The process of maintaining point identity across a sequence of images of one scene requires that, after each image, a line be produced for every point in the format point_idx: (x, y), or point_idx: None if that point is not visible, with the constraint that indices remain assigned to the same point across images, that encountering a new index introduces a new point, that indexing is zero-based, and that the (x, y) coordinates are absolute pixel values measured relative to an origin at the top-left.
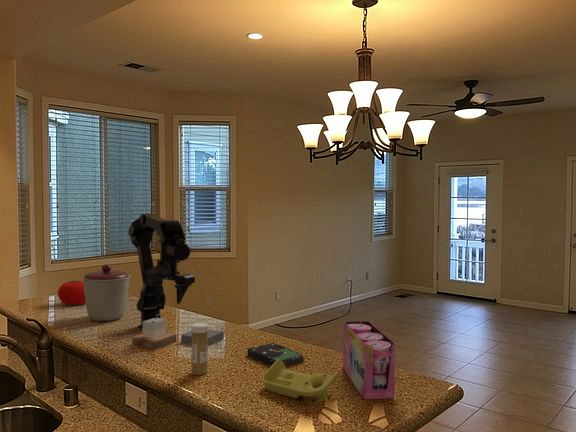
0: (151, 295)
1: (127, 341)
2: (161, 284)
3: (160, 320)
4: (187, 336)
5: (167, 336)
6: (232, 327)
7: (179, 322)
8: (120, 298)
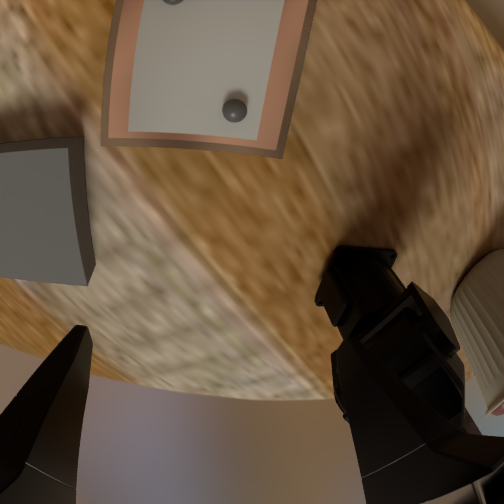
0: (412, 373)
1: (356, 49)
2: (367, 480)
3: (147, 72)
4: (34, 149)
5: (113, 76)
6: None
7: (273, 345)
8: (489, 331)
